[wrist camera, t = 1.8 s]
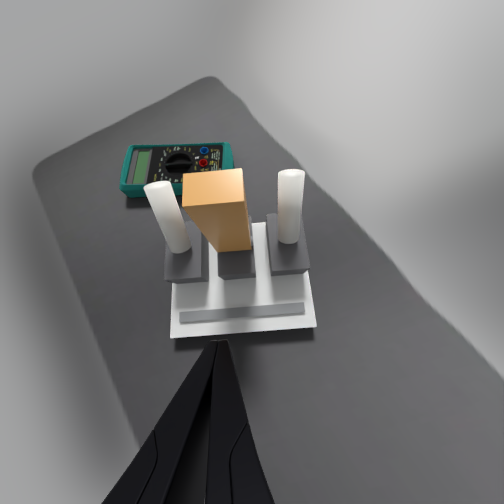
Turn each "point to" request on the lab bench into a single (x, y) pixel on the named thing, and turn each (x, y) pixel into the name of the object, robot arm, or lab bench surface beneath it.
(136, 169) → the digital multimeter
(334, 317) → the lab bench surface
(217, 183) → the wooden block
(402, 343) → the lab bench surface
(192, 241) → the twin post stand
